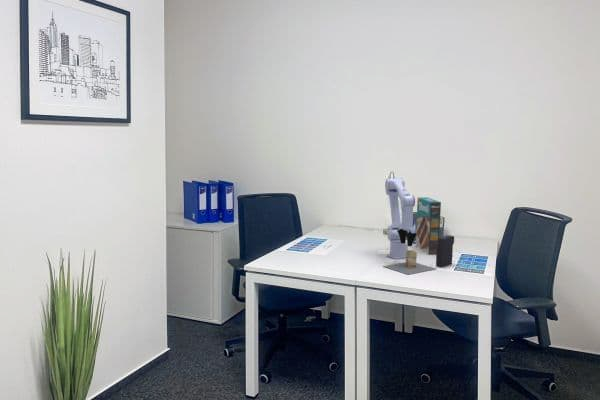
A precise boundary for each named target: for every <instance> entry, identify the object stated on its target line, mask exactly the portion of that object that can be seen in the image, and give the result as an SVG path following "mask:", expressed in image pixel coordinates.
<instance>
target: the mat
mask: <svg viewBox="0 0 600 400" xmlns="http://www.w3.org/2000/svg"><path fill="white" fill-rule="evenodd" d="M382 268H385V269H389V270H391V271H394V272H398V273H401V274H404V275H406V276H409V275H414V274H419V273H425V272H429V271H435V270H437V268H436V267H431V266H428V265H425V264H422V263H418V262H416V267H413V268H408V267H407V266H406V261H405V262H399V263H393V264H387V265H383V266H382Z"/></svg>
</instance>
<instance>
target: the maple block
mask: <svg viewBox="0 0 600 400" xmlns="http://www.w3.org/2000/svg"><path fill="white" fill-rule="evenodd" d="M417 253H418V252H417V251H416V250H413V249H412V250H409V249H408V250H406V257H405V262H406V266H407V267H408V268H413V267H416V263H417V256H418V255H417Z"/></svg>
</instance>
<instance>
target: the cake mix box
mask: <svg viewBox="0 0 600 400" xmlns="http://www.w3.org/2000/svg"><path fill="white" fill-rule="evenodd" d="M416 201H417V205H416V228H415V233H417V235H416V236H415V247H416V248H417V249H418V250H420V251H422V252H424V253H425V254H426V255H428V256H432V255H433V256H434V255H436V250H437V239H438V238H439V237H440V234H441V233H440V231H441V208H442V202H441V201H439V200H435V199H434V198H433V199H432V198H430V197H428V196H427V197H417V200H416Z"/></svg>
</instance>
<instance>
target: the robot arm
mask: <svg viewBox="0 0 600 400" xmlns="http://www.w3.org/2000/svg"><path fill="white" fill-rule="evenodd" d="M405 185H406V181H405V179H404V178H390V177H388V178H386V179H385V183H384V189H385V194H386V195H388V199H389V206H390V215H391V216H390V217H391V224H390V225H389V226H388V227H387V239H388V241H389V242H390V247H389V248H390V249H389V254H386V257H388V258H392V259H395V260H399V259H406V250H409V249H408V247H412V246H413V245H414V240H415V239H416V235H417V233H416V228H414V227H413V220H414V207H415V205H416V198H415V195H413V194H412V195H411V194H410V193H409V190H408V189H407V188H405ZM399 201H400V202H399ZM399 204H400V205H399ZM400 210H401V212H400Z"/></svg>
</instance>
